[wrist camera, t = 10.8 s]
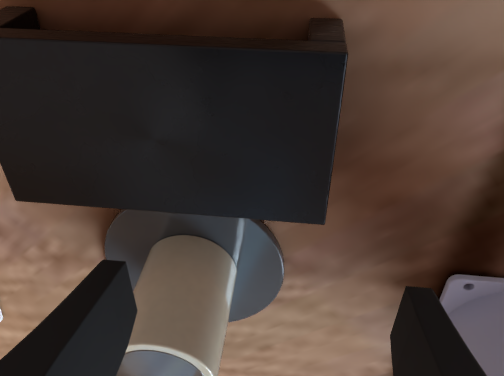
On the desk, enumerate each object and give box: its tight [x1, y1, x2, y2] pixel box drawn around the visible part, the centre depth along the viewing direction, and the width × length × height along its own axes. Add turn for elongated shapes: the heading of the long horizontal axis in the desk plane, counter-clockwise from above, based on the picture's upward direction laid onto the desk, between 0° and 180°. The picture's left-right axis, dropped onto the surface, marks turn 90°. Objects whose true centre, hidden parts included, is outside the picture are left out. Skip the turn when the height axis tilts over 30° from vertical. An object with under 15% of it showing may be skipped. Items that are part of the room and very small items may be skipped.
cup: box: [116, 235, 237, 376], centre depth 22 cm, size 5×5×6 cm
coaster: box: [105, 209, 284, 322], centre depth 25 cm, size 10×10×1 cm
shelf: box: [0, 7, 348, 225], centre depth 18 cm, size 13×7×4 cm, turn 90°
